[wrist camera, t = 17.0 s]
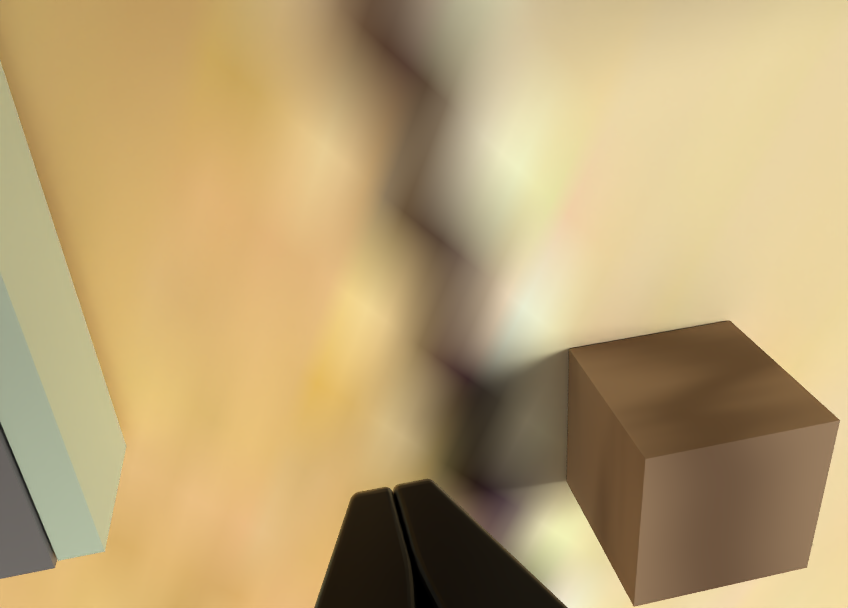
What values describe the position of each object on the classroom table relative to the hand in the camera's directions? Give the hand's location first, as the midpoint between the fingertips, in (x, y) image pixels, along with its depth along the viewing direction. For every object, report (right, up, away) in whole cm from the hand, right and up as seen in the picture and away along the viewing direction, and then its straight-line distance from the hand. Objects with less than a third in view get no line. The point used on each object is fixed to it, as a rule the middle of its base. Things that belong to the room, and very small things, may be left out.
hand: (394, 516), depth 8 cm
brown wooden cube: (+7, -1, +16) cm, 17 cm away
